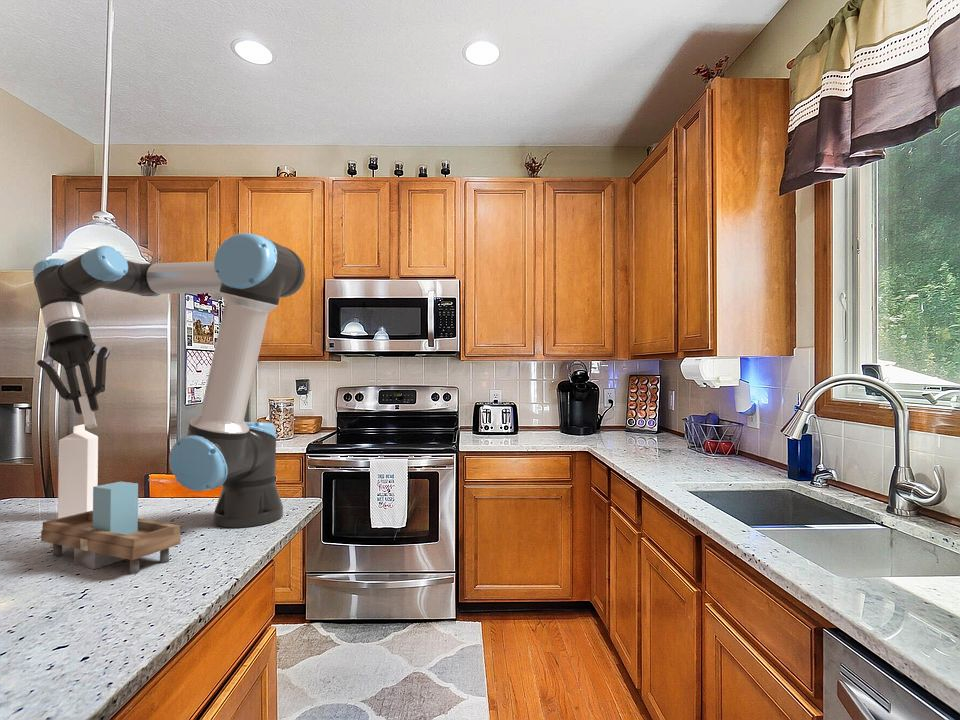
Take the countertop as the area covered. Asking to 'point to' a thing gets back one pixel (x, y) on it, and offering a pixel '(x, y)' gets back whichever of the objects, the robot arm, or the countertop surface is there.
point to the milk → (77, 472)
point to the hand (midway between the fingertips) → (91, 426)
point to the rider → (116, 507)
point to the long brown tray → (109, 541)
